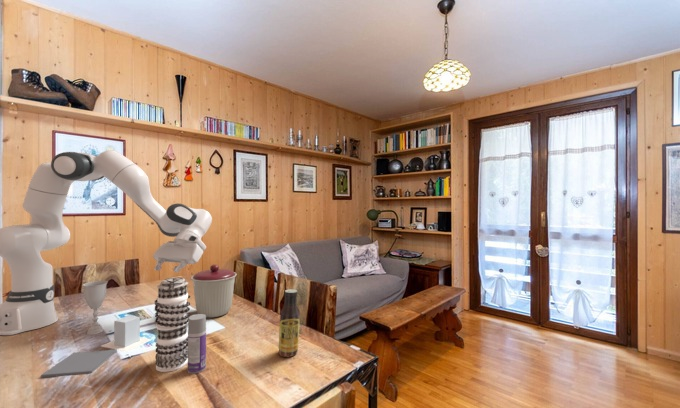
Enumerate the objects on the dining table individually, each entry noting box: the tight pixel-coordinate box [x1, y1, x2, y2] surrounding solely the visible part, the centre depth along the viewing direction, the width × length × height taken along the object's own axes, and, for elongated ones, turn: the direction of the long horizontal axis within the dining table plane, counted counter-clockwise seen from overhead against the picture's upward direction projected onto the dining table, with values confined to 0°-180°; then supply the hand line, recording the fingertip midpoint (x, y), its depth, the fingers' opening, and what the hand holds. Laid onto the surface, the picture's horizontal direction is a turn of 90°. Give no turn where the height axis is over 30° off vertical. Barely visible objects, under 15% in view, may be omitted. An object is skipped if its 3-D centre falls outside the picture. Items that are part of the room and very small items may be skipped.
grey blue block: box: [113, 315, 141, 347], centre depth 98 cm, size 5×5×8 cm
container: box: [187, 313, 207, 375], centre depth 83 cm, size 5×5×15 cm
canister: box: [190, 264, 237, 319], centre depth 126 cm, size 18×18×21 cm
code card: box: [101, 336, 153, 353], centre depth 98 cm, size 12×9×1 cm
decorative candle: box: [154, 276, 191, 373], centre depth 86 cm, size 9×9×25 cm
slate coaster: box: [40, 349, 118, 379], centre depth 86 cm, size 12×12×1 cm
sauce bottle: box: [278, 288, 300, 358], centre depth 93 cm, size 7×6×20 cm
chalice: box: [82, 280, 109, 336], centre depth 107 cm, size 7×7×18 cm
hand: (165, 270), depth 112 cm, fingers open, 8 cm apart
